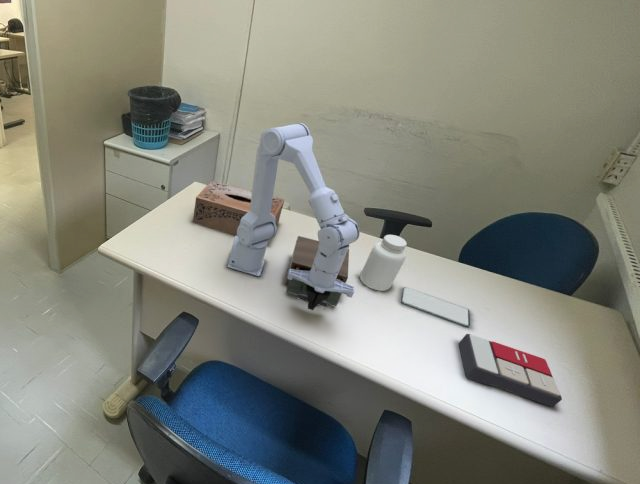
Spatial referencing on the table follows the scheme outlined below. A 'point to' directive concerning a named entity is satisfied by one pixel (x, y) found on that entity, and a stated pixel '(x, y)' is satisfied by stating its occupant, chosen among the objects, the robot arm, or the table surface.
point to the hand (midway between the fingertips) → (310, 307)
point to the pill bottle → (384, 263)
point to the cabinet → (312, 257)
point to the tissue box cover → (227, 207)
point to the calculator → (508, 369)
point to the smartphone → (436, 306)
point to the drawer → (300, 290)
